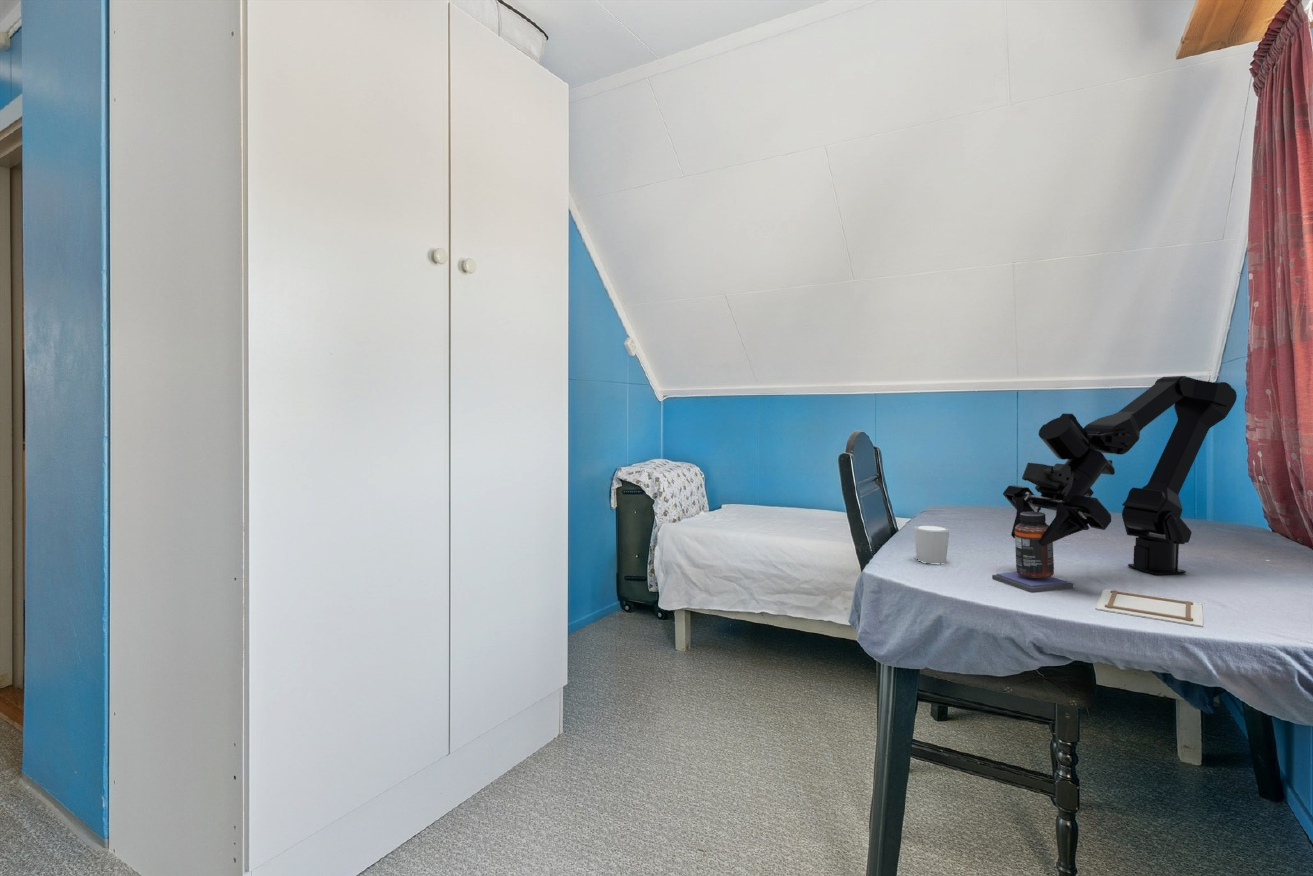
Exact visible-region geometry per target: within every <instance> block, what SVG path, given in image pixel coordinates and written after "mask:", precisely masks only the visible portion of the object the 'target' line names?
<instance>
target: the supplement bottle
mask: <svg viewBox="0 0 1313 876" xmlns="http://www.w3.org/2000/svg"><path fill="white" fill-rule="evenodd" d="M1020 520H1021V522H1020V523H1019V524H1018V525H1016V527H1015V538H1014V540H1015V541H1014V544H1015V545H1014V548H1015V568H1016V572H1017V573H1018V574H1020V575H1021V576H1025V577H1030V578H1048V577H1054V574H1055V565H1054V563H1055V562H1054V561H1055V560H1054V542H1052V543H1050V544H1048V545H1045V546H1042V545H1041V544H1040V543H1039V541H1040V539H1041V537H1042V535H1043V534H1044V532H1045V531H1046V530H1047V528H1048V527H1049V525H1050V524H1047V523H1046V521H1047V519H1046V513H1045V512H1042V511H1039V512H1022V513H1020Z"/></svg>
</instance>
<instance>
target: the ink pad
mask: <svg viewBox="0 0 1313 876" xmlns="http://www.w3.org/2000/svg"><path fill="white" fill-rule="evenodd" d="M991 579H993V580H995V581H998V582H1000V583H1004V584H1005V585H1010V586H1013V587H1015V588H1018V589H1021V590H1024V591H1027V592H1029V593H1038V592H1039V593H1040V592H1048V591H1057V590H1068V589H1074V583H1071V582H1069V581H1067V580H1063V579H1060V578H1057V577H1054V576H1051V577H1048V578H1030V577H1025V576H1021V575H1020V574H1018V573H1017V571H1014V572H1013V571H1012V572H1001V573H996V574H992V575H991Z"/></svg>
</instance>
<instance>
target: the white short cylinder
mask: <svg viewBox="0 0 1313 876" xmlns="http://www.w3.org/2000/svg"><path fill="white" fill-rule="evenodd" d="M913 531H914V532H913V533H914V543H915V554H916V560H917V559H918V560H920V561H923V562H926V563H945V564H946V563H947V557H948V548H949V540H950V531H951V529H950V528H948V527H945V526H940V525H928V524H927V525H916V526H914V527H913Z"/></svg>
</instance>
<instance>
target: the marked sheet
mask: <svg viewBox="0 0 1313 876" xmlns="http://www.w3.org/2000/svg"><path fill="white" fill-rule="evenodd" d="M1198 604H1202V605H1198ZM1094 608H1095V610H1098V611H1104V612H1110V613H1117V614H1120V615H1122V614H1123V615H1129V616H1133V617H1134V616H1135V617H1141V618H1147V619H1151V620H1152V619H1153V620H1159V621H1164V622H1170V623H1177V624H1182V625H1189V626H1195V627H1201V628H1204V618H1203V617H1204V616H1203V615H1204V614H1203V603H1201V602H1196V601H1191V600H1190V601H1188V600H1181V599H1174V598H1167V597H1162V596H1153V595H1147V594H1140V593H1132V592H1126V591H1119V590H1113V589H1112V590H1111V589H1108V588H1107V589H1105V588H1103V590H1102V592H1101V595H1100V596H1099V598H1098V602H1097V604H1096V606H1095V607H1094Z"/></svg>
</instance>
